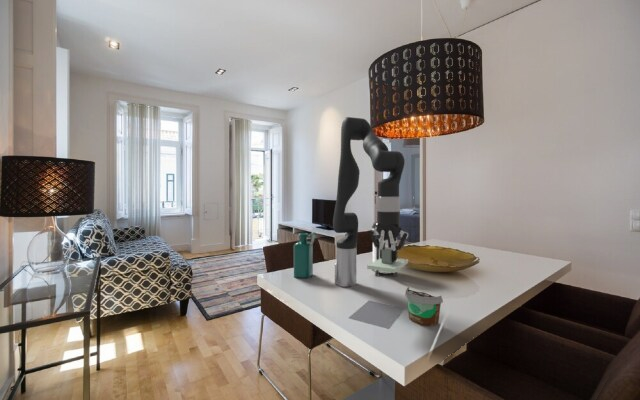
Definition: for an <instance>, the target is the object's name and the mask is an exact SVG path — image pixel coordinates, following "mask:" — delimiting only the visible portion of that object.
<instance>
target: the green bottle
mask: <svg viewBox="0 0 640 400" xmlns="http://www.w3.org/2000/svg"><path fill="white" fill-rule="evenodd" d="M297 234H298V235H297V236H299V241H297V242H296V243H294V245H293V277H295V278H298V277H301V278H300V279H308V278H310V277H311V276H312V275H313V274H314V273H313V271H314V268H313V267H314V263H313V262H314V258H313V256H314V254H313V251H314V250H313V249H314V248H313V247H314V246H313V244H314V242H315V237H316V233H315V232H311V233H308V232H299V233H297ZM308 237H310V241H308Z"/></svg>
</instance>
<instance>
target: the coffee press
mask: <svg viewBox="0 0 640 400" xmlns="http://www.w3.org/2000/svg"><path fill="white" fill-rule="evenodd" d="M376 227H377V221H375V222H374V223H372V226H371V228H372V230H375V229H376ZM377 238H378V240H379V242H380V235H379V234H378V232H377ZM385 248H392V246H391V243H390V240H387V241H386V245H385ZM378 259H380V249H379V248H377V247H375V246H374V244H373V243H372V262H374V261H376V260H378ZM373 272H375V273H374V276H376V277H379V275H380V274H392V275H393V276H394V277H397V276H398V271H396V272H395V273H391V272H385V271H378V270H374V271H373Z"/></svg>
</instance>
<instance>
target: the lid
mask: <svg viewBox="0 0 640 400" xmlns="http://www.w3.org/2000/svg"><path fill="white" fill-rule="evenodd" d="M392 251H393V250H392V248H384V249H382V259H381V258H380V259H378V260H376V261H374V262H373V261H372V262H371V263H369V264H367V267H366V269H367V270H371V271H372V270H378V271H385V272H391V273H390V274H392V273H394V274H395V272H398V271H399V270H400V269H402V268H403V267H404V266H406V265H407V264H409V259H405V258H398V257H397V260H396V261H395V262H392Z"/></svg>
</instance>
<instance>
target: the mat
mask: <svg viewBox="0 0 640 400" xmlns="http://www.w3.org/2000/svg"><path fill="white" fill-rule="evenodd" d="M405 309H406V308H405V307H403V306H402V307H401V306H398V305H392V304H388V303H383V302H378V301H374V300H370V299H369V300H368V301H367V302H365V303H364V304H362V306H360V307H359V308H358V309H357V310H356V311H355V312H353V313H352V314H351V315H350V316H348V319H350V320H354V321H357V322H362V323H364V324H369V325H373V326H377V327H380V328H384V329H389V330H390V328H391V327H392V326H393V324H394V323H395V321H397V319H398V318H399V317H400V316H401V314H402V313H403V311H405Z"/></svg>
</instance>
